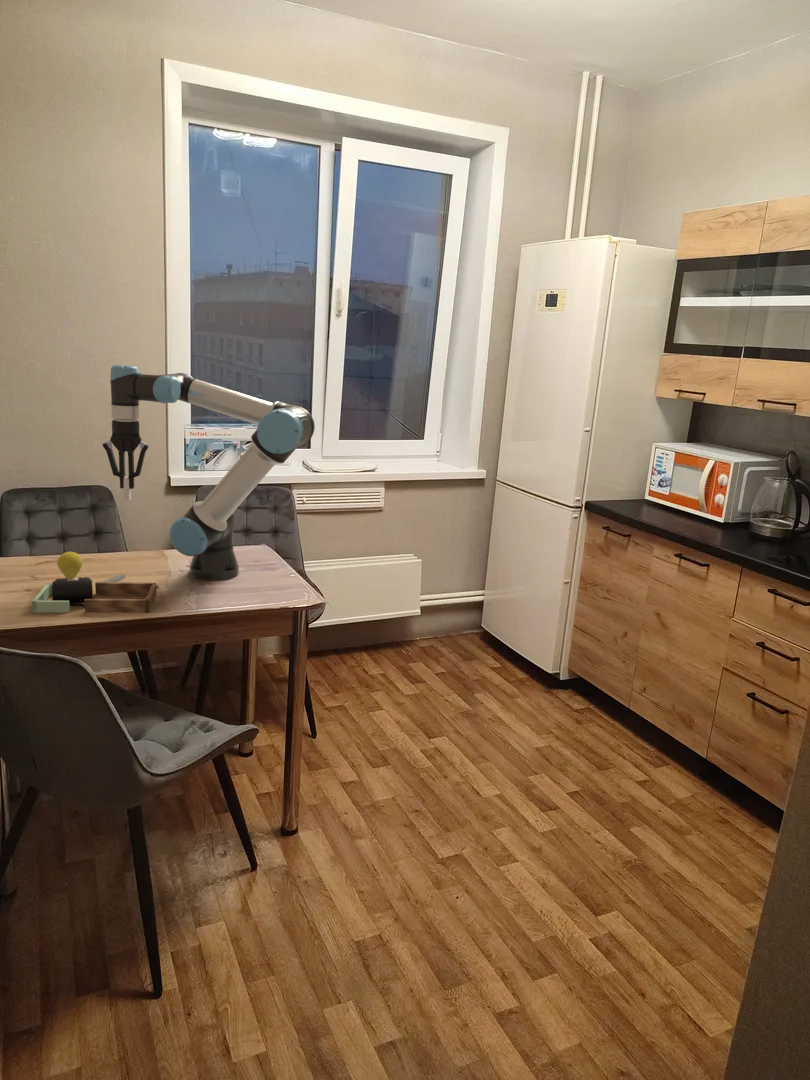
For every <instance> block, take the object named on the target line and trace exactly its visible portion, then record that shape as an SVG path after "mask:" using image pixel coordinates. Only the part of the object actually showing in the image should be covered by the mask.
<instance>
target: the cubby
mask: <svg viewBox="0 0 810 1080" xmlns="http://www.w3.org/2000/svg"><path fill="white" fill-rule="evenodd" d="M157 584H158V583H157V582H133V581H132V582H128V581H127V582H122V581H121V582H120V581H118V582H102V581H96V582H95V583H94V585H95V595H96V596H146V597H145V598H143V599H141V598H138V599H137V598H130V599H129V598H93V599H85V600H84V603H83V604H84V605H83V606H84V613H89V614H90V613H94V614H95V613H97V614H99V613H100V614H101V613H103V614H104V613H107V614H110V613H112V614H113V613H115V614H116V613H117V614H118V613H119V614H120V613H121V614H123V613H124V614H126V613H128V614H129V613H130V614H131V613H132V614H134V613H135V614H137V613H138V614H139V613H140V614H142V613H143V614H149V613H150V612H151V609H152V607H153V604H154V602H155V599H156V597H157V594H158V591H157V590H158V589H157ZM144 612H145V613H144Z"/></svg>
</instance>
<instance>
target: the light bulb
mask: <svg viewBox="0 0 810 1080" xmlns="http://www.w3.org/2000/svg"><path fill="white" fill-rule="evenodd" d="M82 566H83V559H82V557H81V555H79V554H78V553H77V552H74V551H66V552H64V553H62V554H61V555H60V556H59V557H58V559H57V567H58V569H59V570H60V572H61V573H62V574H63V576H64V578H67V581H71V580H78V578H77V575H78V574H79V572H80V570H81V568H82Z"/></svg>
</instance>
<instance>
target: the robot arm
mask: <svg viewBox="0 0 810 1080" xmlns="http://www.w3.org/2000/svg"><path fill="white" fill-rule="evenodd" d="M109 383H110V397H111V400H110V401H111V403H110V407H111V409H110V411H111V418H112V419H113V420H112V421H111V437H110V439H109V440H108V441H105V442H104V443H102V447H103V449H104V450H105V451H106V455H107V458H108V462H109V465H110V468H111V472H112V476H116V477H118V478H119V488H120V489H123V500H124V501H130V500H131V499H132V492H131V490H133V489H134V488H135V478H137V477H139V476H140V475H141V473H142V469H143V464H144V460H145V456H146V452H147V450H148V449H149V447H150V445H149V443H145V441H143V440H142V438H141V436H140V435H141V434H140V421H139V419H140V401H142V402H143V401H144V402H146V401H147V402H155V403H161V404H173V403H176V402H177V401H181V402H184V403H188V404H192V405H194V406H197V407H201V408H204V409H207V410H210V411H213V412H216V413H219V414H223V415H225V416H228V417H232V418H235V419H239V420H241V421H245V422H247V423H250V424H254V425H257V427H256V430H255V431H254V432H253V434H252V435H251V436H250V438H251V440H250V441H251V445H249V447H248V448H247V449H246V450H245V451H244V452H243V453H242V455H241V456H240V458H238V459H237V461H236V462H235V463H234V465H233V466H232V467H231V468H230V469H229V470H228V472H226V474H225V475H224V476H223V477H222V478H221V480H220V481H219V482H218V483H217V484H216V485H215V487H214V488H213V489H212V490H211V492H210V493H209V494H208V495H207V496H206V498H204V500H201V501H196V502H194V503H193V505H192V506H191V507H190V508H189V509H188V510H187V512H186V513H185V514H184V515H183V516H182V517H179V518H178V519H176V520H174V522H173V523H172V524H171V526H170V528H169V538H170V542H171V545H172V546H173V547H174V549H175V550H176V552H179V554H181V555H184V556H187V557H192V558H191V562H190V565H189V575H191V576H192V577H194V578H196V579H200V580H205V581H206V580H207V581H208V580H209V581H218V580H227V579H232V578H234V577H236V576H238V575H239V574H240V573H239V572H240V569H239V562H238V560H237V556H236V553H235V551H234V533H235V532H234V531H235V530H234V529H235V528H234V526H235V522H234V521H235V511H236V510H237V509H238V507H240V505H241V504H242V503H243V502H244V501H245V499H246V498H247V497H248V496H249V495H250V494H251V492H253V490H254V489H255V488H256V487H257V486H258V484H259V483H260V482H261V481H262V480H263V479H264V478H265V476H267V474H268V473H269V472H270V471H271V470H272V469H273V467H274V466H275V465H282V464H284V463H285V461H287V460H288V458H289V457H290V456H291V455H292V454H293V453H294V452H295V451H296V450H297V448H298V447H301V446H303V445H305V444H307V443H308V442H309V441H310V440H311V439H312V437H313V436H314V433H315V426H316V425H315V421H314V418H313V416H312V415H311V412H309V411H308V410H307V409H306V408H304V407H303V406H302V407H301V406H299V405H293V404H290V403H286V402H283V401H279V400H278V401H275V402H271V401H267V400H265V399H261V398H257V397H254V396H251V395H249V394H245V393H242V392H239V391H235V390H232V389H229V388H226V387H223V386H219V385H216V384H213V383H210V382H207V381H204V380H200V379H196V378H194V377H193V376H192V375H190V374H188V373H183V372H176V373H169V374H167V373H166V374H144V373H140V372H139V367H137V366H135V365H128V364H114V365H112V366H111V367H110V380H109ZM113 446H114V448H115V449H116V450H117V451H118V464H117V462H116V458H115V455H114V454H115V453H114V452H113ZM138 447H139V449H140V452H139V456H138V461H137V465H136V468H135V455H134V454H135V451H136V449H137V448H138ZM126 453H127V460H128V461H127V465H128V476H126V460H125V459H126V458H125V455H126Z"/></svg>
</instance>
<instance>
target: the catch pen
mask: <svg viewBox="0 0 810 1080" xmlns="http://www.w3.org/2000/svg"><path fill="white" fill-rule="evenodd" d="M50 596H52V582H49V583H46V584H45V585H44V587H43V588H42V589H41V590H40V591H39V593H38V594H37V595H35V597H34V599H33V600H31V611H32V612H31V613H63V614H64V613H70V612H71V611H70V604H69V601H54V600H48V598H49V597H50Z"/></svg>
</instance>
